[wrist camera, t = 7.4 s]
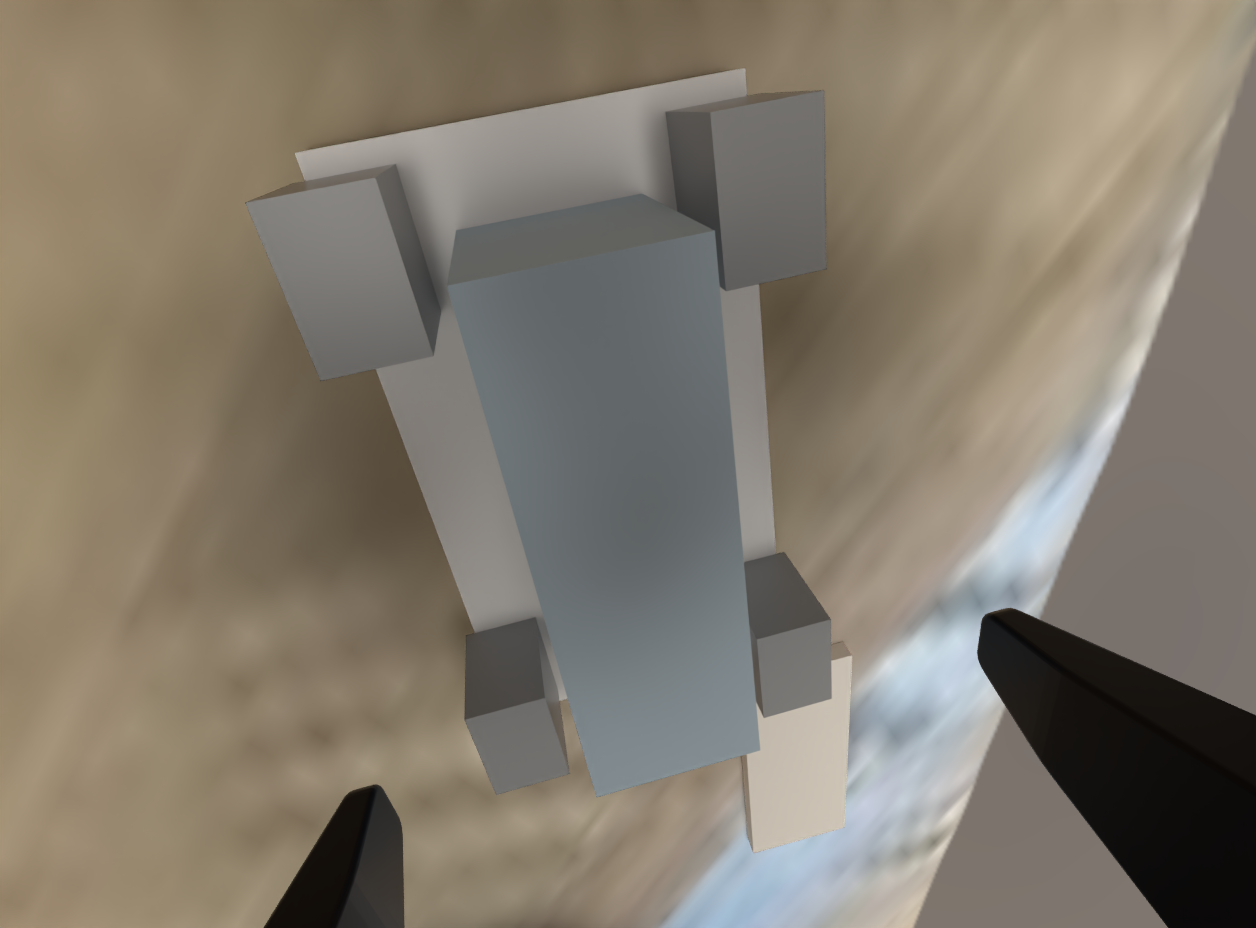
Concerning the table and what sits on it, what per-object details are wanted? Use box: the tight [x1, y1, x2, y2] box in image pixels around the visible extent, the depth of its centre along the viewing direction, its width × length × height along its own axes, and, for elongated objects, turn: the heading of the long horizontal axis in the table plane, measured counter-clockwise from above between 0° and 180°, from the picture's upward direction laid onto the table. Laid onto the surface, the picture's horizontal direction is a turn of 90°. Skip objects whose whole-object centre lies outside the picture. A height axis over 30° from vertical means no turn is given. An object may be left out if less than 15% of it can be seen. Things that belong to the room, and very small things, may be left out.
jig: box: [245, 68, 832, 795], centre depth 16 cm, size 16×10×4 cm, turn 9°
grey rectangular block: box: [447, 194, 760, 797], centre depth 15 cm, size 12×4×5 cm, turn 9°
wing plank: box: [742, 642, 852, 853], centre depth 26 cm, size 10×4×1 cm, turn 8°
